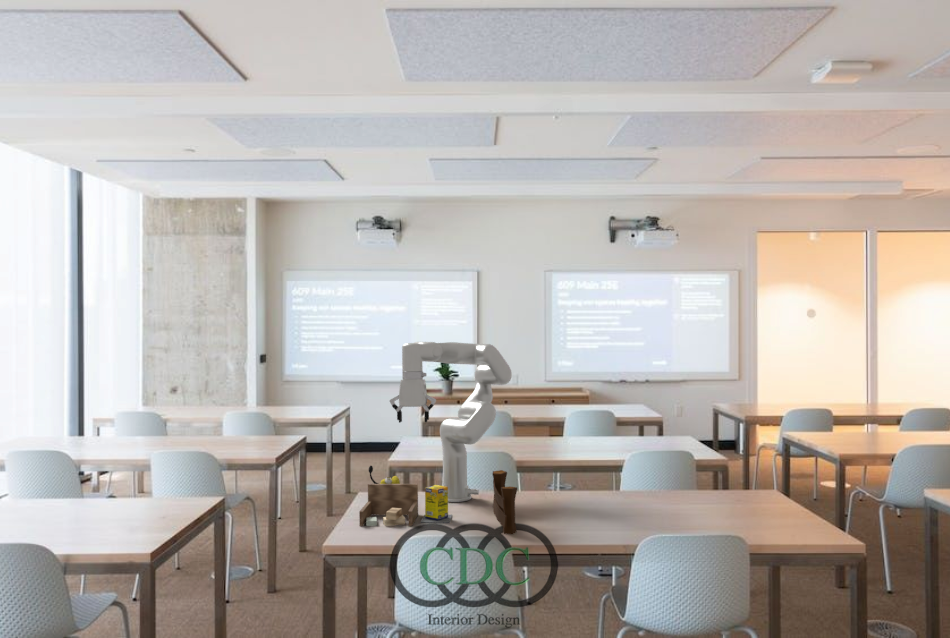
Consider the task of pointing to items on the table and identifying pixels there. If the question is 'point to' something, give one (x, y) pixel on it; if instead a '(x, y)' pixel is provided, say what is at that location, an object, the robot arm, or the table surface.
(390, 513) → the offcut
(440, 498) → the supplement box
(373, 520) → the offcut
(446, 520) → the pad
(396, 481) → the toy
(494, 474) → the decorative fence
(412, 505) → the rack
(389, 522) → the offcut
